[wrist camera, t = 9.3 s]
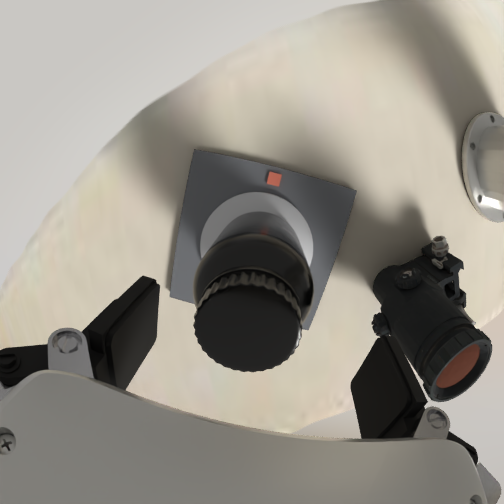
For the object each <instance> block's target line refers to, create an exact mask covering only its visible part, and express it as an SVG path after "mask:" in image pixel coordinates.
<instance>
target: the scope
mask: <svg viewBox="0 0 504 504" xmlns="http://www.w3.org/2000/svg"><path fill="white" fill-rule="evenodd" d="M448 249H449V246H448V243H447V242H446V238H445V237H444V236H436V237H435V238H433V240H432V243H431V244H429V245H428V246H426V247H424V248H422V253H423V254H425V256H422V257H418V258H416V259H414V260H412V261H410V262H408V263H406V264H404V265H402V266H395V265H393V266H389V267H387V268H385V269H383V270H382V271H381V272H380V273H379V274H378V275H377V277H376V279H375V281H374V285H373V292H374V294H375V297H376V298H377V299H378V301H379V302H380V304H381V305H382V306H381V313H380V312H379V313H378V314H375V315H374V317H373V321H372V325H373V324H374V325H373V327H372V328H373V330H374V333H377V334H376V335H377V336H380V337H381V336H382V335H387V336H389V334H390V336H393V337H395V338H396V339H397V341H398V343H399V345H400V347H401V349H402V351H403V353H404V354H405V356H406V357H407V358H408V360H409V361H410V363H411V364H412V366H413V368H414V369H415V370H416V372H417V373H418V375H419V376H420V378H421V379H422V380H423V382H424V383H423V387H424V389H425V391H426V393H427V394H428V396H429V397H430V398H431V400H433V401H436V402H444V401H449V400H451V399H453V398H455V397H457V396H459V395H460V394H462V393H463V392H465V391H466V390H467V389H468V388H469V387H471V386H472V385H473V384H474V383H475V382H476V381H477V379H478V378H479V377H480V376H481V374H482V373H483V372H484V370H485V368H486V366H487V364H488V362H489V360H490V357H491V353H492V344H491V340H490V339H489V338H488V337H487V336H486V335H485V334H484V333H483V332H482V331H480V330H479V329H476V328H475V327H474V325H475V324H476V322H474V321H473V320H472V319H471V318H470V317H469V316H468V314H467V313H466V312H465V310H464V308H465V307H466V293H465V292H464V291H463V290H461V289H460V288H459V276H458V272H459V271H460V269H464V266H463V261H461V260H460V259H458V258H456V257H455V256H453V255H452V254H450V253H448Z"/></svg>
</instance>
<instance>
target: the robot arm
mask: <svg viewBox="0 0 504 504" xmlns="http://www.w3.org/2000/svg"><path fill="white" fill-rule="evenodd" d="M462 169H463V176H464V181H465V185H466V189H467V192H468V195H469V198H470V200H471V202H472V204H473V206H474V207H475V209H476V210H477V211H478V213H479V214H480V215H481V216H483V217H484V218H485V219H488V220H490V221H492V222H497V223H499V222H504V118H503V117H502V116H501V115H499V114H496V113H493V112H486V113H481V114H479V115H477V116H475V117H474V118H473V119H472V120H471V122H470V124H469V125H468V127H467V130H466V133H465V135H464V141H463V146H462ZM159 292H160V285H159V284H157V282H156V280H155V279H152V278H149V277H146V276H142V277H140V278H139V279H138V280H137V281H136V282H135V283H134V284H133V285H132V286H131V287H130V288H129V289H128V290H127V291H126V292H124V293H123V294H122V295H121V296H120V297H119V298H118V299H115V300H114V301H113V302H112V303H111V304H109V305H108V306H107V307H106V308H105V309H104V310H103V311H102V312H101V313H100V314H99V315H98V316H97V317H96V318H95V319H94V320H93V321H92V322H91V323H90V324H89V325H88V326H87V327H86V328H85V329H84V330H83V331H82V332H80V331H79V330H77V329H73V328H62V329H59V330H56V331H55V332H53V333H52V334H51V335H50V337H49V339H48V344H45V345H35V346H24V347H12V348H5V349H2V350H0V504H496V503H497V501H498V499H499V497H500V495H501V487H500V484H499V483H498V481H496V479H495V478H494V477H493V476H492V475H491V474H490V473H489V472H488V471H487V469H486V468H485V467H484V466H483V465H482V464H481V463H478V464H477V462H478V456H477V452H476V449H475V448H474V447H472V446H471V445H469V444H468V443H466V442H465V441H463V440H462V439H460V438H459V437H457V436H456V435H454V434H452V433H451V432H449V428H450V421H449V418H448V416H447V415H446V413H445V412H444V411H442V410H441V409H439V408H437V407H428V408H426V409H425V408H424V406H425V404H426V403H427V402H428V401H427V399H426V397H425V395H424V393H423V391H422V389H421V387H420V384H419V382H418V380H417V379H416V376H415V374H414V372H413V370H412V368H411V366H410V364H409V362H408V360H407V358H406V356H405V354H404V353H403V351H402V349H401V347H400V345H399V343H398V341H397V339H396V338H395V337H393V336H387V335H382V336H381V337H380V338H377V340H376V341H375V343H374V345H373V347H372V348H371V350H370V352H369V354H368V355H367V357H366V359H365V360H364V362H363V364H362V365H361V367H360V369H359V370H358V372H357V373H356V375H355V377H354V378H353V380H352V382H351V392H352V396H353V401H354V405H355V409H356V414H357V419H358V423H359V428H360V433H361V438H362V439H348V438H347V439H346V438H327V437H315V436H303V435H295V434H287V433H280V432H273V431H267V430H261V429H256V428H250V427H245V426H240V425H236V424H231V423H227V422H222V421H218V420H214V419H210V418H207V417H203V416H199V415H196V414H192V413H189V412H185V411H182V410H179V409H176V408H173V407H170V406H167V405H164V404H161V403H158V402H155V401H152V400H149V399H146V398H144V397H141V396H138V395H136V394H133V393H131V392H128V391H126V388H127V386H128V385H129V383H130V381H131V380H132V378H133V377H134V375H135V373H136V372H137V370H138V368H139V367H140V365H141V364H142V362H143V360H144V359H145V357H146V356H147V354H148V352H149V351H150V349H151V348H152V346H153V345H154V343H155V341H156V337H157V321H158V305H159Z"/></svg>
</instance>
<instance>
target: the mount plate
mask: <svg viewBox="0 0 504 504" xmlns="http://www.w3.org/2000/svg"><path fill="white" fill-rule="evenodd" d="M356 192H357V191H356V190H353V189H350V188H347V187H344V186H341V185H338V184H334V183H331V182H328V181H325V180H321V179H318V178H315V177H311V176H308V175H304V174H301V173H297V172H293V171H290V170H286V169H282V168H278V167H274V166H270V165H266V164H262V163H258V162H254V161H250V160H245V159H241V158H236V157H232V156H227V155H222V154H217V153H212V152H207V151H201V150H196V149H194V153H193V158H192V162H191V167H190V172H189V176H188V181H187V186H186V192H185V197H184V202H183V208H182V213H181V219H180V225H179V231H178V237H177V244H176V251H175V258H174V265H173V272H172V280H171V289H170V297H171V298H175V299H178V300H182V301H186V302H189V303H193V304H195V303H194V298H193V279H194V275H195V272H196V269H197V267H198V265H199V263H200V261H201V259H202V258H203V256H204V255H205V253H206V252H207V251H208V249H209V248H210V247H211V245H212V244H213V243H214V241H215V240H216V239H217V237H218V236H219V235H220V233H221V232H222V231H223V230H224V228H225V227H226V226H227V225H228V224H229V223H230V222H231V221H232V220H234V219H235V218H237V217H238V216H240V215H243V214H245V213H249V212H256V211H261V212H268V213H272V214H275V215H277V216H279V217H281V218H282V219H284V220H285V221H286V222H287V223H288V224H289V225H290V226H291V227H292V228H293V229H294V231H295V233H296V234H297V237H298V239H299V241H300V244H301V246H302V249H303V252H304V254H305V257H306V260H307V262H308V265H309V268H310V271H311V274H312V278H313V283H314V300H313V304H312V308H311V310H310V313H309V315H308V317H307V318H306V320H305V321H304V323H303V324H302V326H303V327H302V329H305V330H309V328H310V325H311V323H312V320H313V318H314V315H315V313H316V310H317V308H318V305H319V302H320V300H321V297H322V295H323V292H324V289H325V287H326V284H327V281H328V279H329V276H330V273H331V270H332V267H333V265H334V262H335V259H336V256H337V253H338V250H339V247H340V244H341V241H342V238H343V235H344V232H345V229H346V225H347V222H348V219H349V216H350V212H351V209H352V206H353V202H354V199H355V195H356Z"/></svg>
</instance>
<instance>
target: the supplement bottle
mask: <svg viewBox="0 0 504 504" xmlns="http://www.w3.org/2000/svg"><path fill="white" fill-rule="evenodd" d="M193 298H194V303H195V306H196V309H197V311H196V313H195V315H194V319H195V322H194V325H193V326H194V328H195V336H196V337H197V338H198V343H199V344H200V345H201V347H202V350H203V351H204V352H206V353H207V355H208V356H209V357H210V358H212V359H214V361H215V362H216V363H219V364H222V365H223V366H224V367H227V368H231V369H233V370H240V371H242V372H247V371H250V372H256V371H264V370H266V369H272V368H274V367H275V366H278V365H281V364H282V362H283V361H286V360H288V358H289V356H290V355H292V354H293V353H294V351H295V349H296V348H297V347H298V346H299V340H300V339H301V337H302V333H301V331H302V327H303V326H302V324H303V323H304V321H305V320H306V318H307V317H308V315H309V313H310V310H311V308H312V304H313V300H314V283H313V278H312V274H311V271H310V268H309V265H308V262H307V260H306V257H305V254H304V252H303V249H302V246H301V244H300V241H299V239H298V237H297V234H296V233H295V231H294V229H293V228H292V227H291V226H290V225H289V224H288V223H287V222H286V221H285V220H284V219H282V218H281V217H279V216H277V215H275V214H272V213H268V212H261V211H256V212H249V213H245V214H243V215H240V216H238V217H237V218H235V219H234V220H232V221H231V222H230V223H229V224H228V225H227V226H226V227H225V228H224V230H223V231H222V232H221V233H220V235H219V236H218V237H217V239H216V240H215V241H214V243H213V244H212V245H211V247H210V248H209V249H208V251H207V252H206V253H205V255H204V256H203V258H202V259H201V261H200V263H199V265H198V267H197V269H196V272H195V275H194V279H193Z"/></svg>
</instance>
